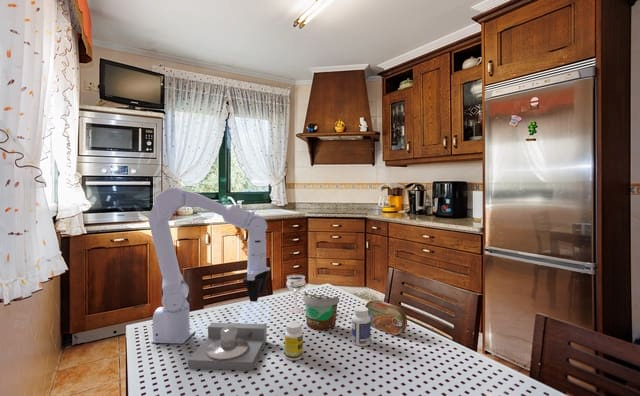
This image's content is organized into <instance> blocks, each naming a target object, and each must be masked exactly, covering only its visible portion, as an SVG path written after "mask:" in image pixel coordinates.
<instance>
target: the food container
mask: <svg viewBox="0 0 640 396" xmlns="http://www.w3.org/2000/svg"><path fill="white" fill-rule="evenodd" d="M302 302H303V303H304V306H305V319H306V325H307V327H308V328H309V329H311V330H315V331H327V330H331V329H334V328H335V326H336V322H337V311H338V304H339V303H340V298H339V295H337V296H335V297H331V296H327V295H323V294H308V293H307V291H305V292H304V294H303V297H302Z"/></svg>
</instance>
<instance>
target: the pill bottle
mask: <svg viewBox="0 0 640 396" xmlns="http://www.w3.org/2000/svg"><path fill="white" fill-rule="evenodd" d="M353 313H354V314H353V315H352V316H351V343H352V344H354V345H355V346H358V347H366V346H368V345H370V344H371V328H372V326H371V319H370V317H369V316H368V308H366V307H365V306H356V307H354V309H353Z"/></svg>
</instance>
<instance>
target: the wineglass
mask: <svg viewBox="0 0 640 396" xmlns="http://www.w3.org/2000/svg"><path fill="white" fill-rule="evenodd" d="M305 278H306V276H305V275H303V274H290V275H287V276H286V279H287V280H286V287H287V288H288V289H289V290H290V292H293V293H294V304H295V306H294V307H290V308H289V310H288V311H289V312H290V313H293V314H294V313H295V314H296V313H302V312H303V310H304V309H303V308H301V307H297V306H298V305H297V303H298V302H297V301H298V299H297V298H298V293H299V292H300V291H302V290H303V289H304V288H305V286H306V280H305Z"/></svg>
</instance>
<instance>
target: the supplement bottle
mask: <svg viewBox="0 0 640 396" xmlns="http://www.w3.org/2000/svg"><path fill="white" fill-rule="evenodd" d="M302 326H303V325H302V323H301V322H299V321H290V322H287V323H286V326H285V329H286V331H285V333H284V356H285V357H284V358H285V359H287V360H289V361H298V360H300V359H302V358H303V355H304V333H303V330H302V329H303V327H302Z"/></svg>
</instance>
